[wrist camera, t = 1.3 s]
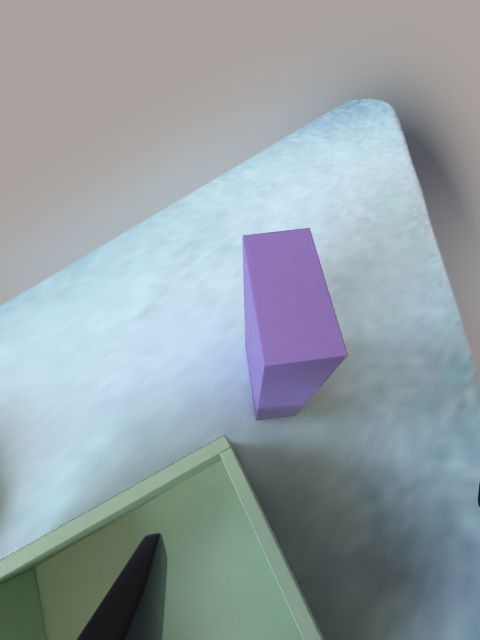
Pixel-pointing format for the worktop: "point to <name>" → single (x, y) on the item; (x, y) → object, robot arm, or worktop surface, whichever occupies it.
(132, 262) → the worktop surface
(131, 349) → the worktop surface
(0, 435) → the worktop surface
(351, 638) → the worktop surface
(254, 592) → the green square tray
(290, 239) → the purple rectangular block
